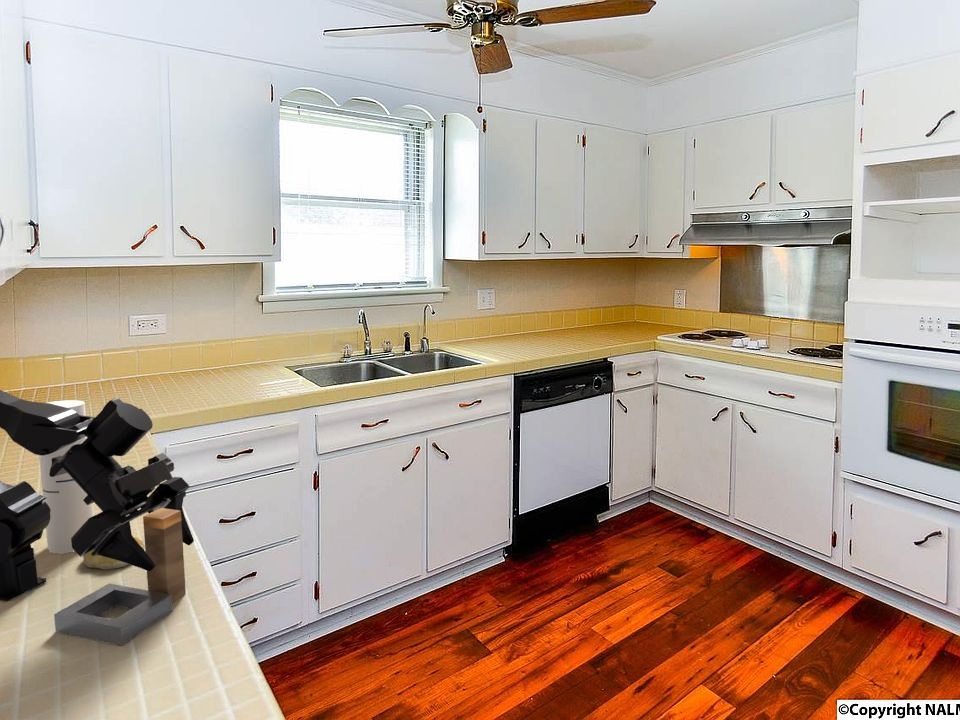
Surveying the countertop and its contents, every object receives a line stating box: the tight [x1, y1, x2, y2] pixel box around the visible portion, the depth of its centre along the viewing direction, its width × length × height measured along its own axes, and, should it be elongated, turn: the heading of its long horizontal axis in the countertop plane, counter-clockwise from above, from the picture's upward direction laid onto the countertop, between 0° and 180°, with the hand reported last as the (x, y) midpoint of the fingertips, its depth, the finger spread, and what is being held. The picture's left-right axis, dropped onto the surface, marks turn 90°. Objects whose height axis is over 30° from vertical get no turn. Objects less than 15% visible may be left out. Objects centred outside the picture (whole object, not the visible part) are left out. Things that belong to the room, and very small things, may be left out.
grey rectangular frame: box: [53, 583, 173, 647], centre depth 92 cm, size 11×9×2 cm
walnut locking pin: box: [142, 508, 186, 604], centre depth 97 cm, size 4×4×13 cm
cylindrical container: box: [38, 399, 95, 554], centre depth 114 cm, size 7×7×25 cm
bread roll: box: [82, 536, 145, 570], centre depth 111 cm, size 8×9×4 cm
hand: (173, 555), depth 97 cm, fingers open, 8 cm apart
